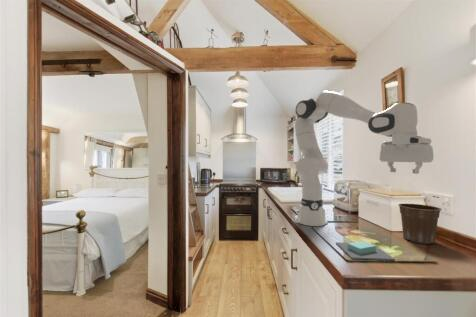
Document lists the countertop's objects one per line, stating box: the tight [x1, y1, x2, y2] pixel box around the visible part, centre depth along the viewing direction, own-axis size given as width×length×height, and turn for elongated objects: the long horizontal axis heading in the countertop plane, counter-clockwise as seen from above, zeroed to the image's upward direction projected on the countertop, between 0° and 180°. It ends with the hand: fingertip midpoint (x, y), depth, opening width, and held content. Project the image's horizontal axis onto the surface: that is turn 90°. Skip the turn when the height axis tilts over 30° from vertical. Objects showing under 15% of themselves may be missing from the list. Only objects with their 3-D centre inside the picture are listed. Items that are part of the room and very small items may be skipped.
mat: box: [335, 241, 396, 261], centre depth 96 cm, size 16×16×1 cm
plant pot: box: [398, 203, 442, 245], centre depth 112 cm, size 16×16×16 cm
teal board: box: [347, 240, 377, 254], centre depth 97 cm, size 2×6×9 cm
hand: (403, 172), depth 100 cm, fingers open, 8 cm apart
